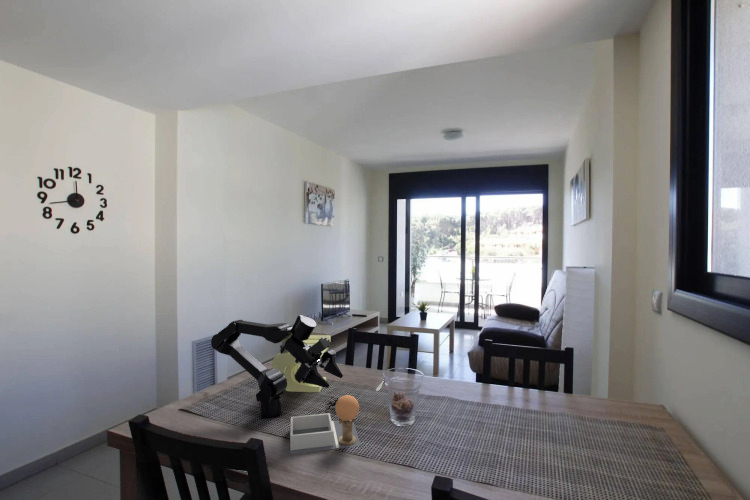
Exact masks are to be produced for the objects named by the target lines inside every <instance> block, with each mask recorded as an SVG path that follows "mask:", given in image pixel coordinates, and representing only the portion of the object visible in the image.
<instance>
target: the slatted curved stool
mask: <svg viewBox="0 0 750 500" xmlns="http://www.w3.org/2000/svg"><path fill="white" fill-rule="evenodd" d="M322 337H325V338H327V339H329V340H330V343H331V338H332V337H331V335H330V334H329V335H327V334H325V335H323V334H311V335H310V337H309V339H308V340H304V341H303V342H305V343H306V344H307V345H310V344H312V345H314V344H315V343H317V342H318V341H319V339H321V338H322ZM327 350H329V347H328V348H326V349H325V350H323V351H322V352H323V353H324V352H325V351H327ZM322 355H323V354H322ZM322 355H321V356H322ZM321 356H320V358H321ZM295 360H296V359H295V358H294V357H293V356H292V355H291V354H290V353H289V352H285V353H283V354H281V353H280V352H279V353H277V354H276V355H275V356H274V357H273V358H272V369H274V368H277V369H278V370H279V371H280V372H281V373H283V374H284V375H283V376H285V377H286V379H287V387H286V389H285V390H284V391H286V392H292V393H293V392H299V393H320V392H321V390H322V389H323V387H321V386H318V385H313V384H308V383H303V381H302V382H301V383H299V382H297V381H296V380H295V376H294V375H295V373H296V372H297V370H298V368H299V367H300V365H301V363H300V362H299V363H296V362H295ZM322 377H323V378H324V379H325V380H326V381H327V377H326V376H322ZM327 382H328V381H327Z"/></svg>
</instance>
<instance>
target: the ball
mask: <svg viewBox="0 0 750 500" xmlns="http://www.w3.org/2000/svg"><path fill="white" fill-rule="evenodd" d="M334 410H335V413H336V416H337V417H338V418H339V419H342V420H344V421H350V420H352V419H354V418H356V417H357V416H358V415H359V411H360V405H359V400H358V399H356V397H355V396H352V395H350V394H345V395H341V396H340V397H339V398H338V401H337V402H336V405H335V406H334Z"/></svg>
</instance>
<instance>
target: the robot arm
mask: <svg viewBox="0 0 750 500" xmlns="http://www.w3.org/2000/svg"><path fill="white" fill-rule="evenodd" d="M316 327H317V322H316V321H315V320H314V319H313V318H311V317H308V316H306V315H305V316H304V315H303V314H298V315H297V317H296V320H295V322H294V323H293V325H290V324H289V323H286V322H283V323H282V322H279V323H271V324H267V323H260V322H252V321H247V320H243V319H236V320H233V321H231V322H229V323H228V324H227V326H226V327H224V328H223V329H221V330H220V331H218V332H217V333H215V334H214V335H213V336H212V337H211V343H210V344H211V345H210V346H211V348H212V349H213V350H215V351H216V352H218V353H220V354H222V355H225V356H229V357H231V359H232V360H234V361H235V362H236V363H237V364H238V365H240V366H241V367H242V368H243V369H244V371H246V372H247V373H249V374H250V376H251V377H253V378H254V379H255V380H256V382H257V384H258V388H259V391H258V392H257V393H256V394H255V398H256V401H257V402H258V403H260V416H259V419H260V420H265V419H278V418H280V417H281V415H282V411H283V410H282V409H283V406H282V405H283V402H282V399H281V396H282V395H284V393H285V391H286V390H285V389H286V387H287V379H286V377H285V376H283V375H284V374H283V373H281V372H280V371H279V370H278V369H277V368H274V369H273V368H272V369H269V368H267V367H266V366H265V365H264V364H262V363H261V362H260V361H259V360H258V359H257V358H255V357H254V356H253V355H252V354H251V353H250V352H249V351H247V349H245V348H244V347H243V346H242V345H241V343H240V338H239V337H241V334H244V335H250V336H255V337H261V338H263V339H264V340H265V341H267V342H269V343H272V344H279V343H283V344H280V346H279V348H280V351H279V353H281V354H283V353H290V354H291V355H292V356H293V357H294V358H295V359H296V360H295V362H296V363H299V362H300V367H299V368H298V370H297V372H296V373H295V375H294V376H295V380H296V381H297V382H299V383H301V382H302V381H303V383H308V384H313V385H318V386H321V387H322V388H326V389H329V387H330V383H328V381H326V380H327V379H326V380H325V379H324V378H323V377H324V376H323V375H321V374H320V373H319V371H318V367H319V368H321V369H323V371H325V372H326V373H328V374H330V375H332V376H334V377H337V378H339V379H343V377H344V375H343V373H342V372H341V369H340V367H339V366H338V365H337V362H336V357H337V356H336V354H337V351H335V350H334V349H332V348H331V349H329V348H330V347H331V345H330V343H331V342H330V340H329V339H327V338H325V337H322V338H321V339H319V341H318V342H317V343H315V344H314V345H312V344H310V345H307V344H306V343H305V342H303V341H304V340H308V339H309V337H310V335H313V334H312V333H313V332H314V330H315V328H316ZM284 341H285V342H284ZM326 348H328V349H327V350H326V351H325V352H324V353H323V352H322V351H323V350H325V349H326ZM322 354H323V355H322ZM321 355H322V356H321ZM320 356H321V358H320Z"/></svg>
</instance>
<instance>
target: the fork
mask: <svg viewBox="0 0 750 500" xmlns="http://www.w3.org/2000/svg"><path fill="white" fill-rule="evenodd" d="M384 382H385V381H383V380H382V381H381V383H379V385H378V386H377V387H376V389H375V391H376V392H378V391H380V390H381V388H382V386H383V385H384Z"/></svg>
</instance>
